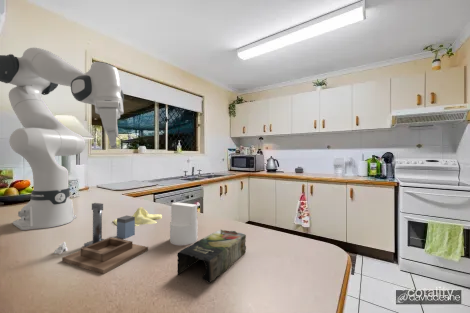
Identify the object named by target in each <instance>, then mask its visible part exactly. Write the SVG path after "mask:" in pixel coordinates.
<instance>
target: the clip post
mask: <svg viewBox="0 0 470 313" xmlns="http://www.w3.org/2000/svg"><path fill="white" fill-rule="evenodd" d="M91 210H92V240H91V241H88V242H84V244H83V247H86V246H89V245H91V244H94V243H97V242H99V241H102V240H105V239H106V238H103V237H102V236H103V235H102V233H103V232H102V230H103V229H102V228H103V227H102V226H103V218H102V217H103V211H104V203H101V202H100V203H99V202H94V203H91Z"/></svg>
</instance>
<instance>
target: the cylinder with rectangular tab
mask: <svg viewBox="0 0 470 313" xmlns="http://www.w3.org/2000/svg"><path fill="white" fill-rule="evenodd" d="M170 207H171V208H170V209H171V210H170V214H171V215H170V217H171V219H170V220H171V221H170V223H169V226H170V227H169V242H170V244H172V245H174V246H188V245H189V246H190V245H192V244H194V243H195V242H197V241H198V226H199V224H198V204H194V203H186V202H179V201H177V202H172V203H171V206H170Z"/></svg>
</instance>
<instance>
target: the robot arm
mask: <svg viewBox="0 0 470 313" xmlns="http://www.w3.org/2000/svg"><path fill="white" fill-rule="evenodd" d="M0 82H1V83H3V84H10V85H14V86H15V87H12V88H11V89H10V90H9V92H8V98H9V100H8V101H9V103H10V105H11V107H12V108H11V109H12V110H13V111H14V114H15V116H16V117H17V119H18V121H19V122H20V124H21V126H22V127H21V128H17V129H15V130H13V131H12V133H11V134H10V135H9V140H8V143H9V146H10V148H11V149H12V150H13V151H14V152H15V153H16V154H18V155H20V156H21V157H23V159H24V160H25V161H26V162H27V164H28V165H29V167H30V168H31V172H32V179H33V180H32V181H33V189H32V191H31V193H30V201H28V202H27V203H26V204H25V205H24V206H23V207H22V208H21V210H19V211H18V213H17V216H18V217H19V219H16V220H13V221H12V225H14V226H15V227H16V228H18V229H19V230H21V231H26V230H36V229H47V228H53V227H59V226H62V225H66V224H70V223H71V222H73V221H74V219H76V218H77V215H76V214H74V205H73V204H74V203H73V199H71V198H70V196H71V194H70V193H71V191H70V187H69V170H68V169H67V168H66V167H65V166H63V165H60V164H59V163H58V160H56V157H70V156H74V155H80V154H81V153H83V152H84V150H85V148H86V141H85V138H84V137H83V136H82V135H81V134H79V133H77V132H76V131H73V130H72V129H70V128H69V127H67V126H66V125H64V123H62V122H61V121H60V120H59V119H58V118H56V116H54V114H53V112H52V111H51V110H50V108H49V107H48V105H47V103H46V102H45V100H44V99H43V96H46V95H47V96H48V95H49V94H50V93H52V92H53V91H54V90H56V89H57V88H58V86H64V87H65V86H66V87H69V88H70V90H71V94H72V96H73V98H74V99H75V100H76V101H77V102H80V103H84V104H89V105H93V106H94V113H95V114H97V115H99V118H100V119H101V123H102V127H103V131H105V133H106V135H107V138H108V143H109V146H110V148H111V149H116V148H117V138H118V137H119V128H118V120H119V119H120V118H121V115H124V111H125V110H124V101H125V95H124V92H123V89H122V82H121V76H120V73H119V69H118V68H117V67H116V66H115V65H112V64H110V63H107V62H104V61H94V62H92V64H91V67H90V68H89V70H88V71H87V72H84V71H82V70H80V69H79V68H77V67H76V66H74V65H73V64H71V63H69V62H68V61H66V60H65V59H63V58H62V57H60V56H59V55H57V54H55V53H53V52H51V51H49V50H46V49H44V48H43V49H42V48H40V47H39V48H38V47H30V48H27V49H26V50H24V52H23V54H22V56H21V57H17V56H15V55H14V54H13V53H12V54H11V53H10V54H7V55H6V54H2V55H0ZM42 95H43V96H42Z"/></svg>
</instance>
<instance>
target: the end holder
mask: <svg viewBox="0 0 470 313" xmlns="http://www.w3.org/2000/svg"><path fill="white" fill-rule="evenodd" d="M104 239H105V240H102V241H99V242H97V243H94V244H91V245H89V246H86V247H85V246H83V247H81V248H80V250H78V251H76V252H73V253H70V254H68V255H65V256H62V258H61V262H63V263H67V264H69V265H73V266H75V267H79V268H83V269H86V270H89V271H92V272H95V273H99V274H102V275H104V274H106V273H108V272H111V271H112V270H115V269H116V268H118V267H119V266H121V265H123V264H125V263H127V262H129V261H131V260H133V259H134V258H137V257H139V256H140V255H143V254H144V253H146V252H148V250H149V246H145V245H140V244H135V243H133V241H132V240H128V239H127V240H126V239H123V238H119V237H117V238H116V237H112V236H110V237H107V238H104Z"/></svg>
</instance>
